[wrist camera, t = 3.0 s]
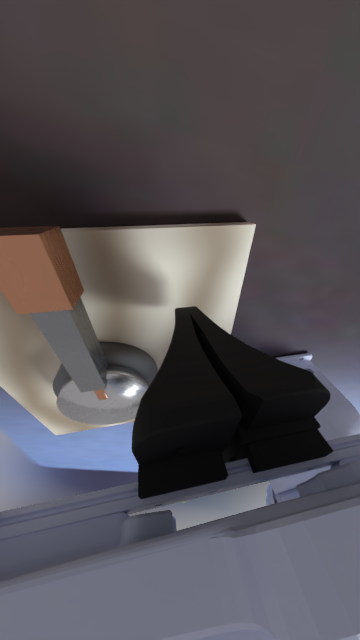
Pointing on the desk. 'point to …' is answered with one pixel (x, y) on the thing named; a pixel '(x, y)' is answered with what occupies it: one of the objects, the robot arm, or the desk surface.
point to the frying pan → (66, 325)
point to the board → (127, 303)
